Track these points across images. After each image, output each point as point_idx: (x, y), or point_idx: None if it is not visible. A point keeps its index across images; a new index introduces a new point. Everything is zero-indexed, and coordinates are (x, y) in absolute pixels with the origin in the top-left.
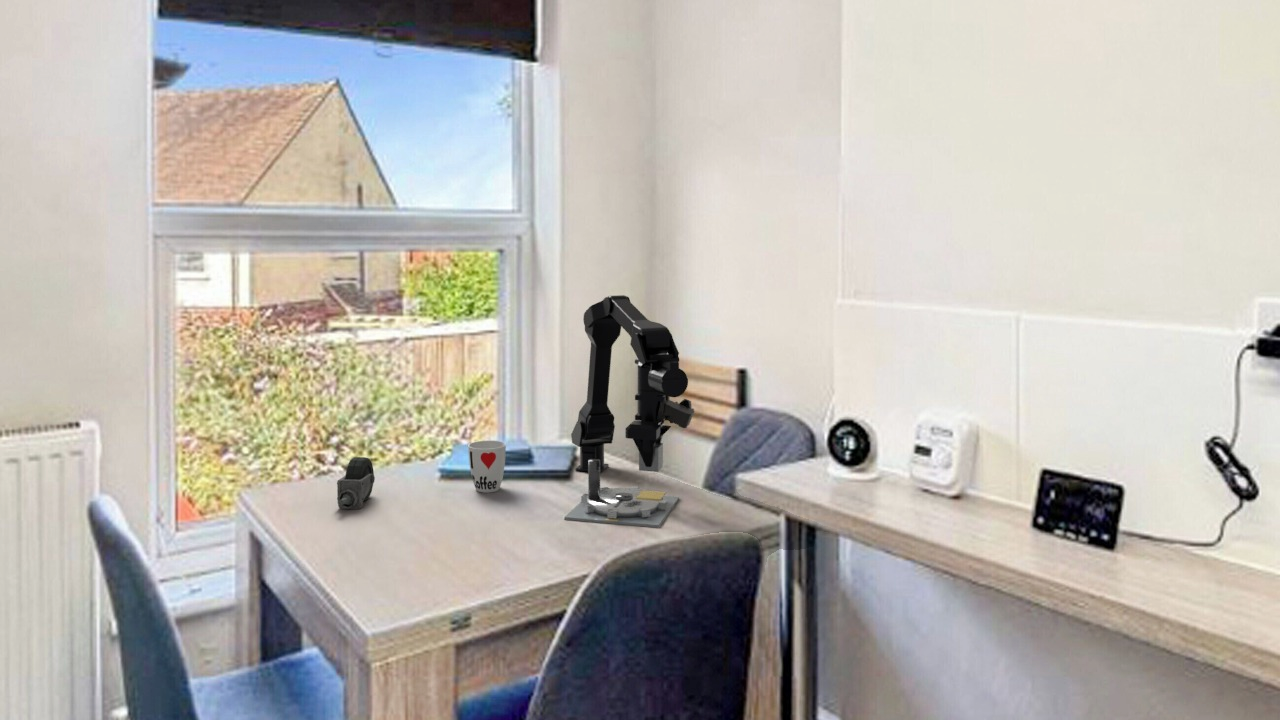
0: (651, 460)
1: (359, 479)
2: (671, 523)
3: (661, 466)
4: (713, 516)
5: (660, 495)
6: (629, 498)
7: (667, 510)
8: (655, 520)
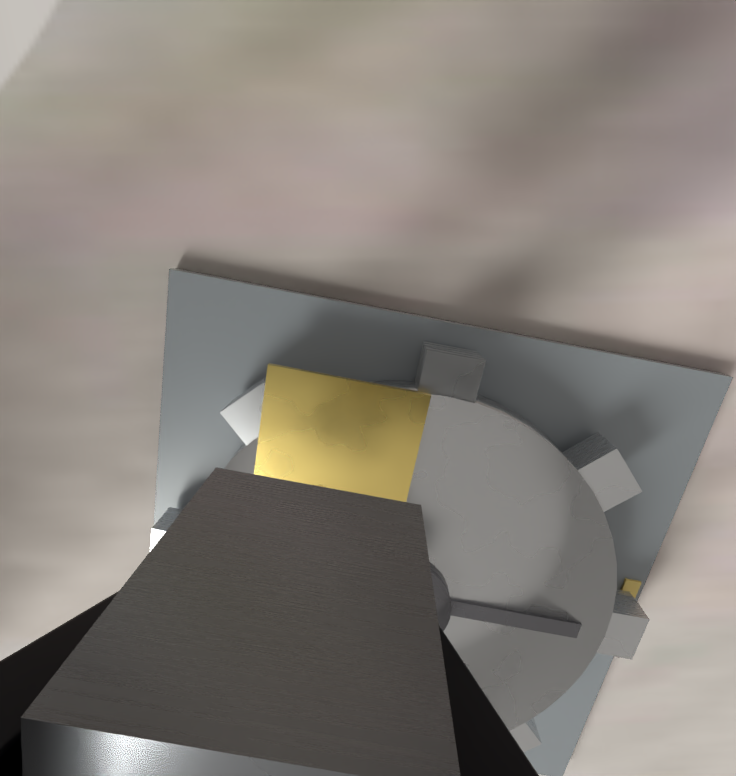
0: (466, 672)
1: None
2: (650, 304)
3: (269, 487)
4: (523, 15)
5: (347, 398)
6: (438, 574)
7: (457, 335)
8: (647, 398)
